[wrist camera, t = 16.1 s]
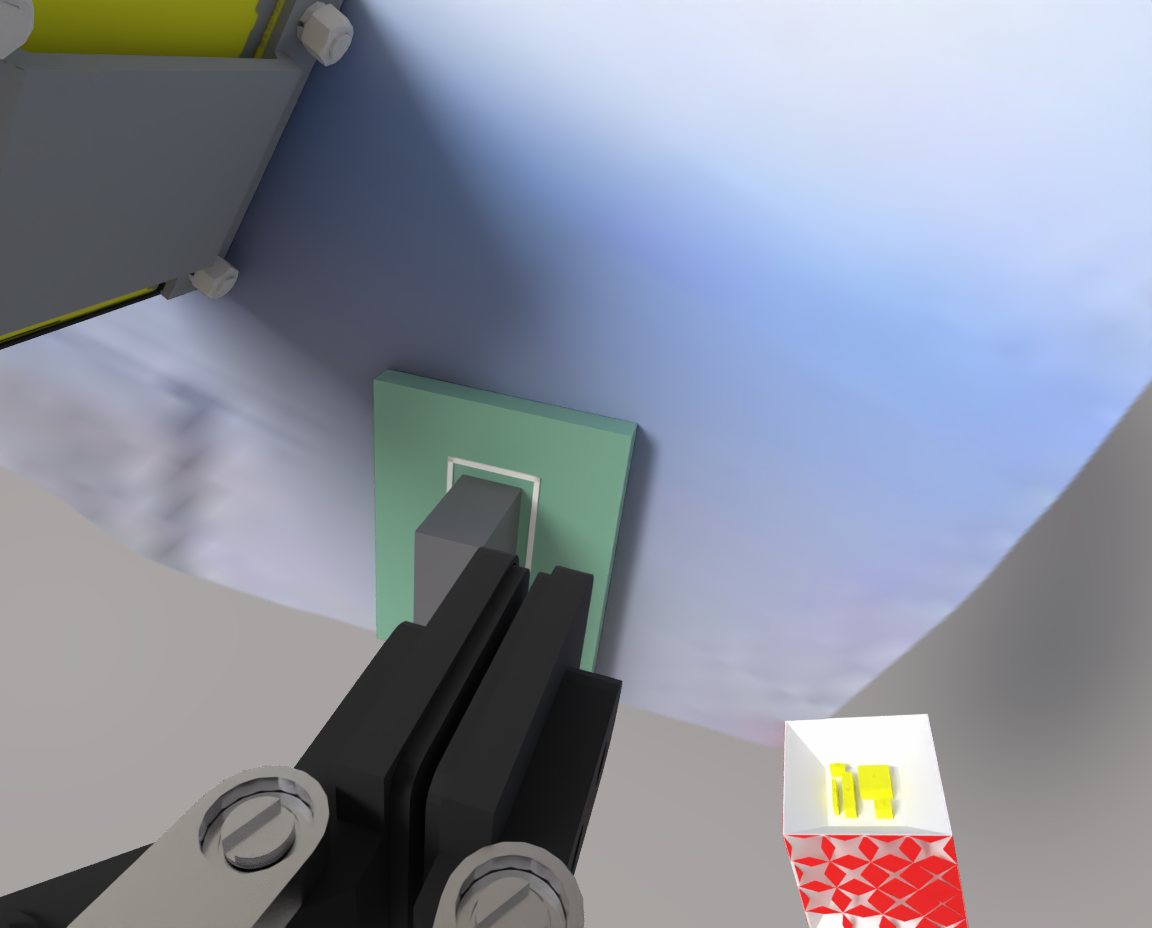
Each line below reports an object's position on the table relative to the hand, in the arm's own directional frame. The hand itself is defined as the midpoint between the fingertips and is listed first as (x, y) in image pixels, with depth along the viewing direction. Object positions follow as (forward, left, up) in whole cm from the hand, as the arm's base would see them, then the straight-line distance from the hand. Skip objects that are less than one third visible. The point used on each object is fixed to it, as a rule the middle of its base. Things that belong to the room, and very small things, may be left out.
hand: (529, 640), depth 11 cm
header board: (+9, +18, -27) cm, 34 cm away
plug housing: (+9, +18, -26) cm, 32 cm away
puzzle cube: (-15, +28, -27) cm, 42 cm away
